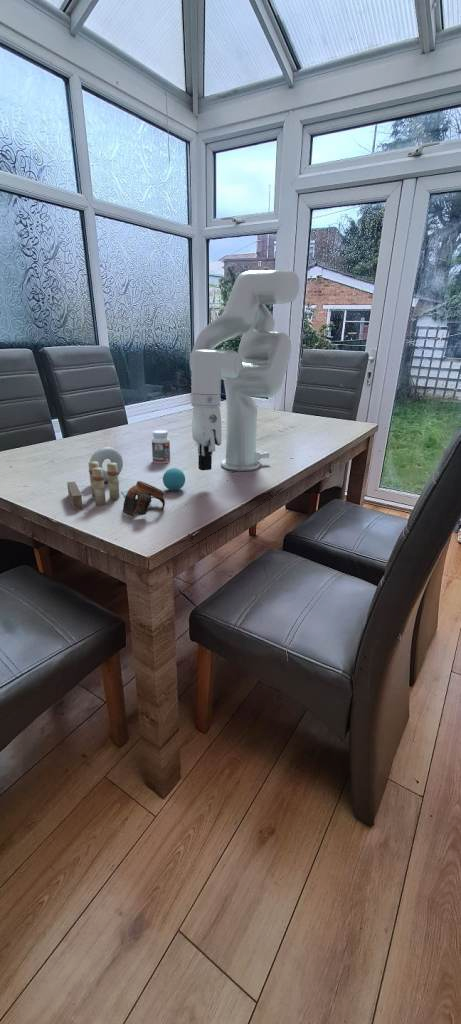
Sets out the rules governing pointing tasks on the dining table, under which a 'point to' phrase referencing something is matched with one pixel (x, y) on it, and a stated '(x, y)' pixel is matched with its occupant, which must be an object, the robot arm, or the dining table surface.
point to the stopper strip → (75, 495)
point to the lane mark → (126, 493)
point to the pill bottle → (160, 447)
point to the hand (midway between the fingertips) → (204, 469)
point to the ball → (174, 479)
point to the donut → (107, 454)
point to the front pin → (113, 480)
